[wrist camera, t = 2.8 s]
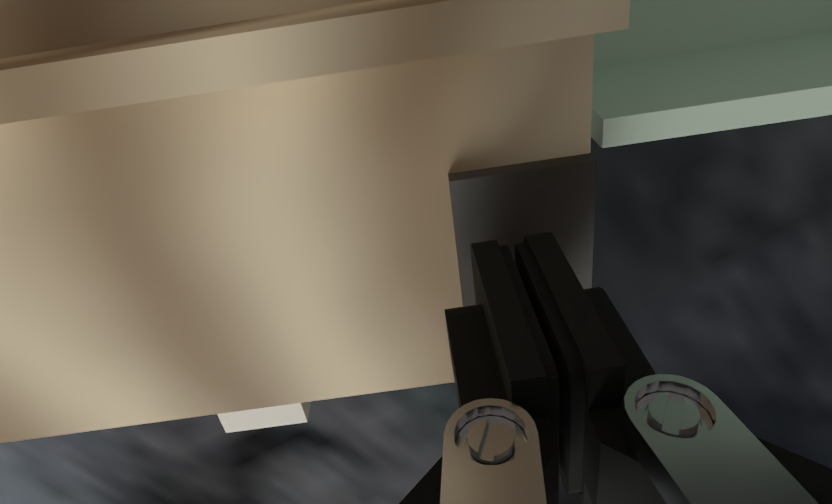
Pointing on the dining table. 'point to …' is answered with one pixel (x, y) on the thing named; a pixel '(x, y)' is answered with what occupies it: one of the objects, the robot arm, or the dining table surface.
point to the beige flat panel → (271, 193)
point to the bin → (710, 68)
